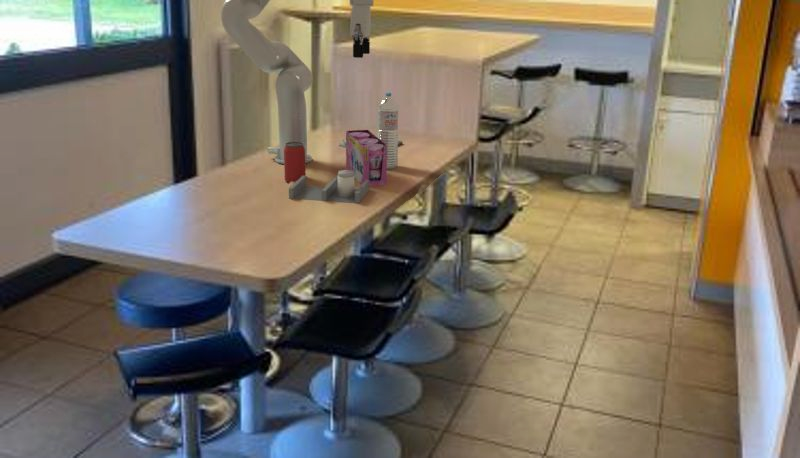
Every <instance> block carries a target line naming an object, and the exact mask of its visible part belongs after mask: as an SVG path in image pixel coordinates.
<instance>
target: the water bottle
mask: <svg viewBox="0 0 800 458" xmlns="http://www.w3.org/2000/svg"><path fill="white" fill-rule="evenodd" d="M399 108H400V107H399V104H398V103H397V101H396V100H395V99H394V98H392V93H391V92H385V97H384V98H383V99H382V100H381V101H380V102H379V104H378V105H377V116H378V117H377V137H378V138H379V139H380V140H381V141H383V142H384V143H385V144H386V145H387V170H393V169H396V168H397V166H398V163H399V162H398V159H399V158H398V155H399V154H398V153H399V151H398V150H399V148H398V147H399V146H398V141H399Z"/></svg>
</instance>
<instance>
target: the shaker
mask: <svg viewBox="0 0 800 458" xmlns="http://www.w3.org/2000/svg"><path fill="white" fill-rule="evenodd" d="M336 178H337V181H338V196H339V197H345V198H347V197H353V196H354V195H355V189H356V188H355V186H356V185H355V179H356V178H355V175H354V172H353V171H351V170H346V169H342V170H338V172H337V177H336Z"/></svg>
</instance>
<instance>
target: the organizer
mask: <svg viewBox="0 0 800 458" xmlns="http://www.w3.org/2000/svg"><path fill="white" fill-rule="evenodd" d="M307 183H308V181H307V175H306V176H302V177H301V178H299V179H298V180H297V181H294V183H293V184H292V185H291V186H290V187H288V199H295V200H305V201H307V200H308V201H318V202H319V201H320V202H321V201H322V202H333V203H346V204H348V203H349V204H360V203H361V202H362V200H363V199H364V198H365V196H366V195H367V194H368V192H369V191H370V186H369V180H365V181H364V182H363V184H362V185H361V184H360V186H359V187H358V188H355V195H354V196H353V197H347V198H345V197H339V196H338V181H337V177H333V178H332V179H331V180H330V181H329V182H328V183H327V184H326V185H325V186H322V185H311V184H310V185H308V184H307Z"/></svg>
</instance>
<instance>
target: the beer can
mask: <svg viewBox="0 0 800 458" xmlns="http://www.w3.org/2000/svg"><path fill="white" fill-rule="evenodd" d="M285 145H286V146H285V148H284V164H283V166H284V167H283V168H284V170H283V172H284V181H285V182H286V183H288V184H289V183H291V182H296V181H297V180H298V179H299V178H301V177H302V176H307V175H306V174H307V173H306V171H307V170H306V163H305V148H304V146H303V143H301V142H289V143H286V144H285Z"/></svg>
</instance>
